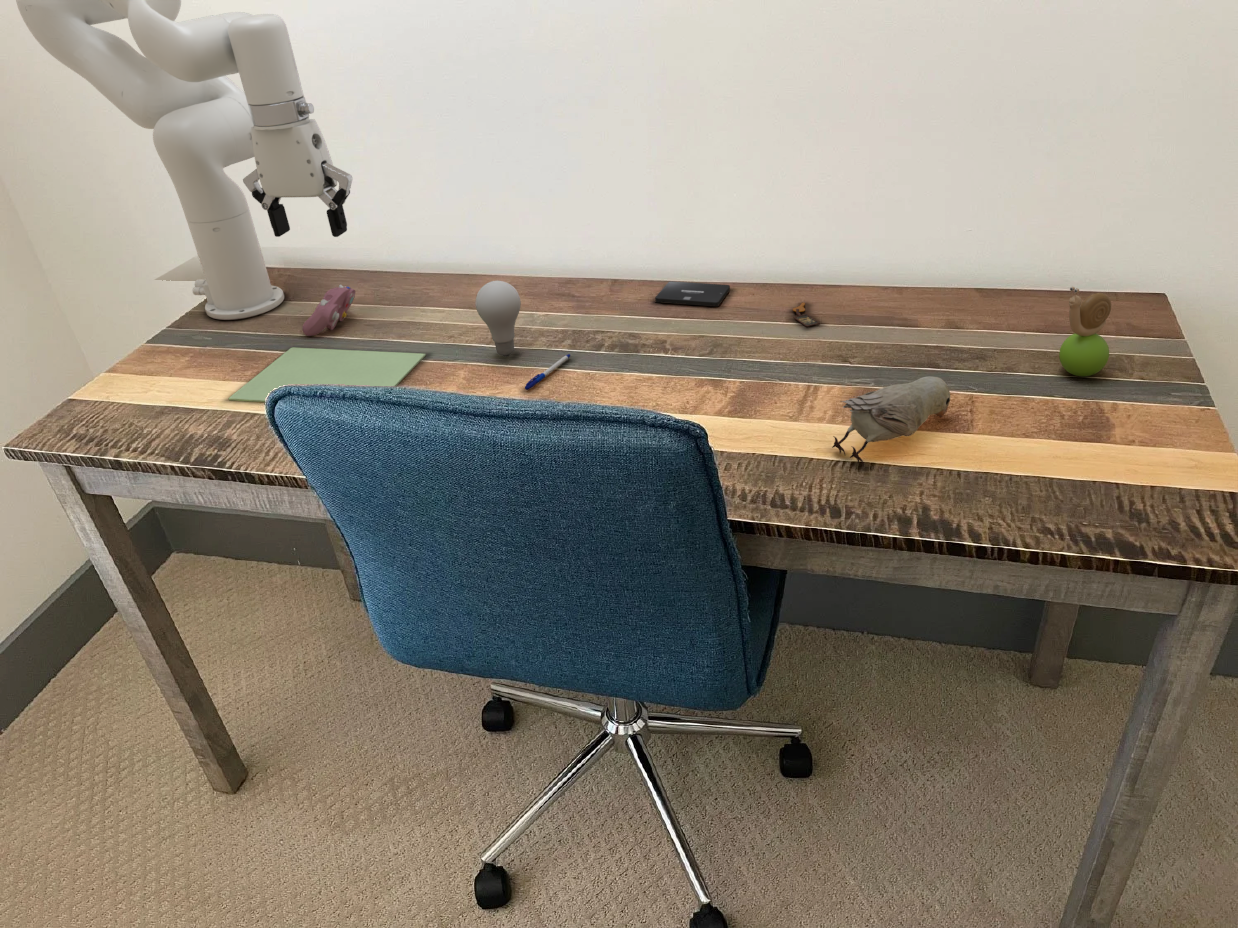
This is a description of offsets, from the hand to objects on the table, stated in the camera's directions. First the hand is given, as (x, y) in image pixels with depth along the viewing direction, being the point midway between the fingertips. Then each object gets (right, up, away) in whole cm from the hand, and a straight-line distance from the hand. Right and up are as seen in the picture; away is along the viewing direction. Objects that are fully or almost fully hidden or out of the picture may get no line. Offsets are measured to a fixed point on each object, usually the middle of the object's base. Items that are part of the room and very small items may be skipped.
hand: (311, 233), depth 142 cm
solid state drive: (+57, -8, +6) cm, 58 cm away
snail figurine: (+101, -23, -24) cm, 107 cm away
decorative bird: (+76, -31, -33) cm, 89 cm away
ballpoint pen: (+36, -22, -13) cm, 44 cm away
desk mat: (+5, -22, -8) cm, 24 cm away
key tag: (+72, -13, -3) cm, 74 cm away
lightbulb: (+30, -19, -6) cm, 36 cm away
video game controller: (+1, -12, +9) cm, 15 cm away
